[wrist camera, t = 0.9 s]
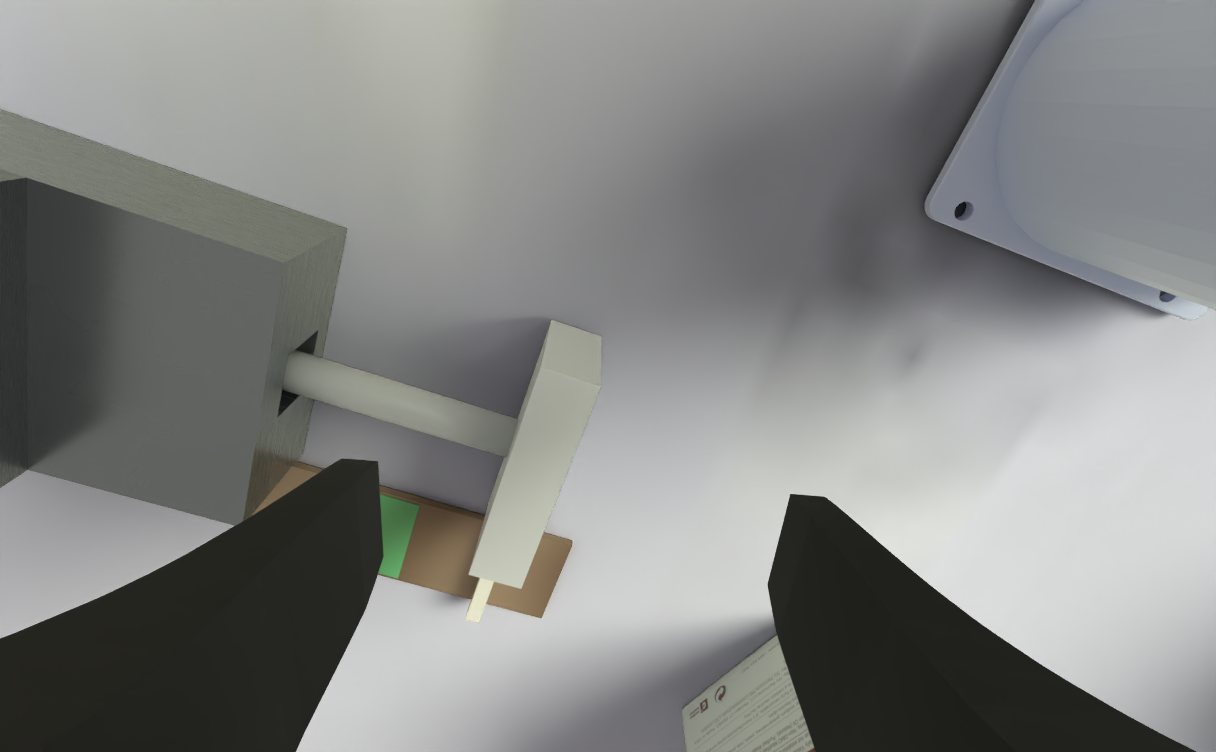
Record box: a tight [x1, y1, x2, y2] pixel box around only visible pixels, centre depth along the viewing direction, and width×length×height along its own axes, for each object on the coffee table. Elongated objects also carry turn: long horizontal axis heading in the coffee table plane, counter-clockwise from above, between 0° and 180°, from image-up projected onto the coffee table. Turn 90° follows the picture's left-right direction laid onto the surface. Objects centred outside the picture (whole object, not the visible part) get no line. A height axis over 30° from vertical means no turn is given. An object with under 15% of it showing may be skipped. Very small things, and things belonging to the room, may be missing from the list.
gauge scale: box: [252, 461, 572, 618], centre depth 23 cm, size 11×4×1 cm, turn 70°
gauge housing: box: [0, 109, 347, 526], centre depth 16 cm, size 10×8×7 cm
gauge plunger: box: [282, 320, 602, 623], centre depth 19 cm, size 11×12×4 cm
